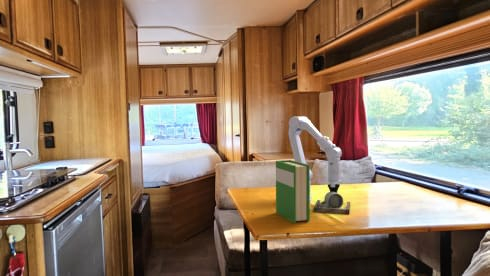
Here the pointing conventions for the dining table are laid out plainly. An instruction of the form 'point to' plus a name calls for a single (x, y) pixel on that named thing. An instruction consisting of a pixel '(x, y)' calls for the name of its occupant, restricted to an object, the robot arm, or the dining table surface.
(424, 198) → the dining table surface
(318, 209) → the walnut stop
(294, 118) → the robot arm
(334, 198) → the ceramic mug
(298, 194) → the hardback book
